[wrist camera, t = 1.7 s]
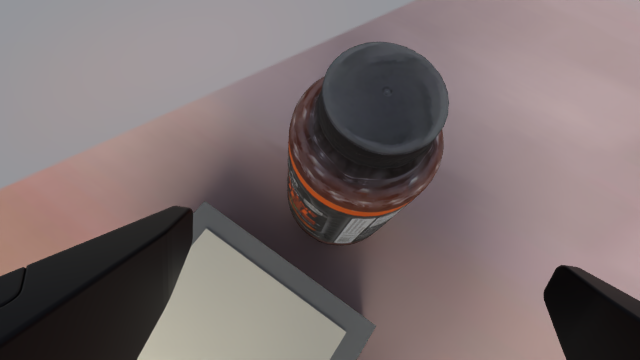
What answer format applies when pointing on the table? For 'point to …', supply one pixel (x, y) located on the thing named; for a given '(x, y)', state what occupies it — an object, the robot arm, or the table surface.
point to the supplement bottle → (365, 141)
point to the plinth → (250, 304)
